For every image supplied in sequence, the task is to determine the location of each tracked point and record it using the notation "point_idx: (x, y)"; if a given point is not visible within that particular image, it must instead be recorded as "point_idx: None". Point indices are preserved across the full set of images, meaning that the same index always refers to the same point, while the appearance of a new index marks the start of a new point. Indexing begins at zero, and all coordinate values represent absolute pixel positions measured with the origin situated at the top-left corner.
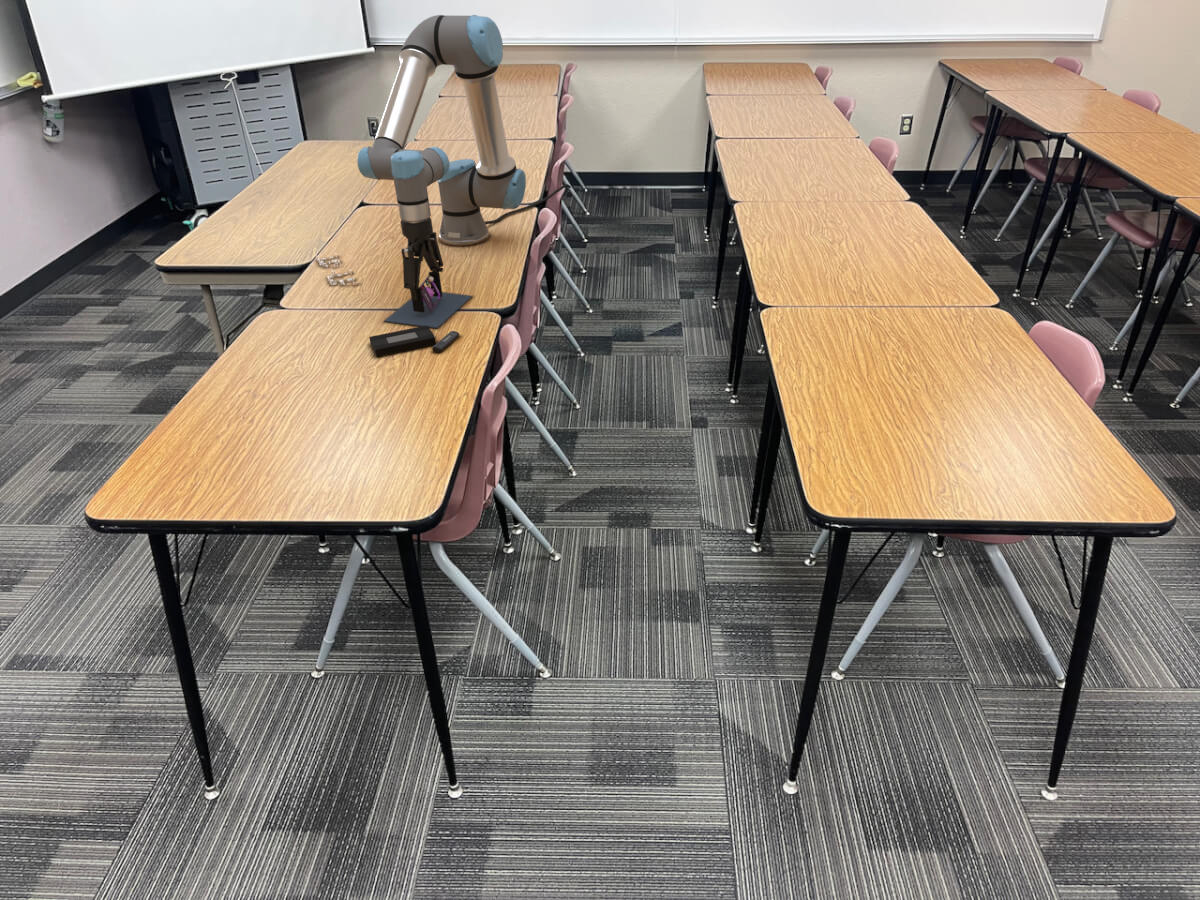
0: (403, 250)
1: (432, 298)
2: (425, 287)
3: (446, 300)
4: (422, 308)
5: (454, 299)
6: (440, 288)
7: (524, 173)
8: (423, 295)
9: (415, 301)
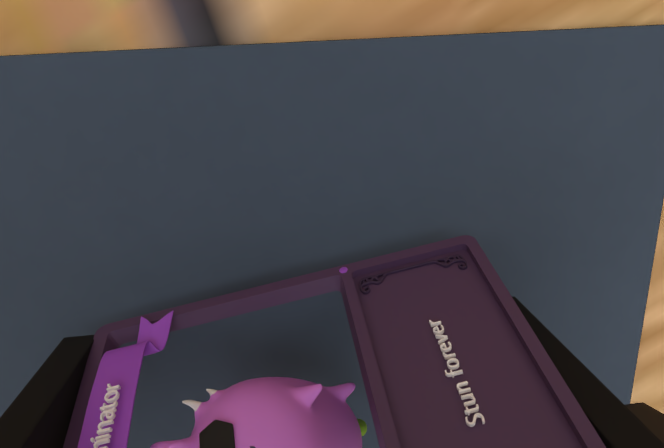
0: None
1: None
2: None
3: (70, 278)
4: (535, 319)
5: (4, 212)
6: (41, 399)
7: None
8: (567, 407)
9: None
